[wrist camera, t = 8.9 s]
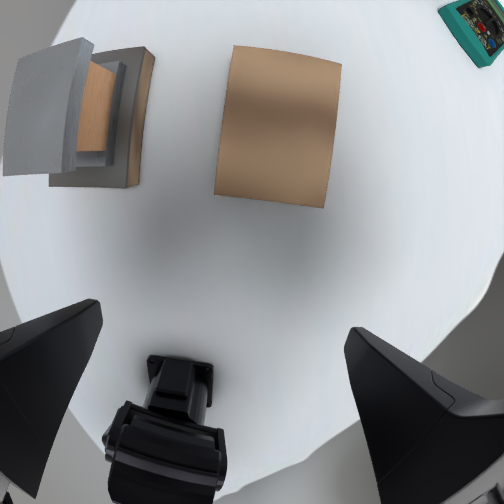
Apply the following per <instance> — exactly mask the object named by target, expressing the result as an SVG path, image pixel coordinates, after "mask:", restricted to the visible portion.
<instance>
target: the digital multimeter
mask: <svg viewBox="0 0 504 504" xmlns="http://www.w3.org/2000/svg"><path fill="white" fill-rule="evenodd" d="M478 7H479V8H478ZM487 10H488V11H487ZM438 12H439V14H440V16H441V17H442V19H443V20H444V22H445V23H446V25H447V26H448V28H449V29H450V31H451V32H452V34H453V35H454V37H455V38H456V40H457V41H458V42H459V44H460V45H461V46H462V48H463V49H464V50H465V51H466V53H467V54H468V55H469V57H470V58H471V59H472V60H473V62H474V63H475V64H476V65H477V67H479V68H481V67H485V66H490V65H491V64H492V63H493V61H494V60H495V59H496V57H497V56H498V55H499V54H500V53H501V51H502V50H503V49H504V8H503V7H502V5H501V4H500V3H499V1H498V0H459V1H456V2H453V3H450V4H447V5H445V6H444V7H442V8H440V9H439V10H438ZM490 13H491V14H490ZM499 28H500V29H499Z"/></svg>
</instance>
